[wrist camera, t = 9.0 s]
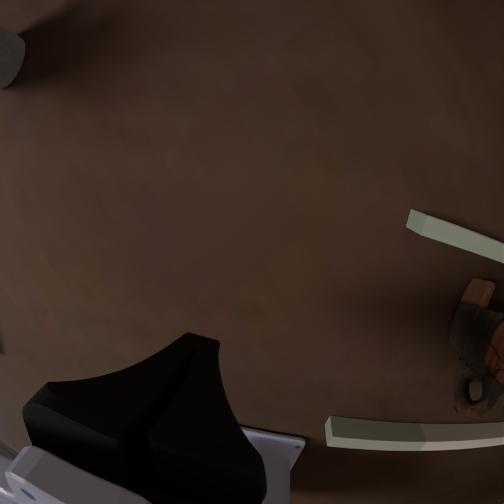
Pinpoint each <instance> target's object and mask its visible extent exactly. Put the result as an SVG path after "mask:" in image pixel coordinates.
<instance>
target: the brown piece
mask: <svg viewBox="0 0 504 504" xmlns="http://www.w3.org/2000/svg"><path fill="white" fill-rule="evenodd" d="M495 289H496V286H495V283H493V282H492V281H486V280H483V279H479V278H473V279H472V280H471V282H470V283H469V284H468V286H467V288H466V290H465V292H464V294H463V296H462V298H461V301H460V303H459V305H458V308H457V310H456V312H455V314H454V316H453V321H452V323H451V327H450V343H451V344H452V345H453V346H454V348H455V349H456V351H457V353H458V354H459V355H460V357H461V358H460V359H458V370H457V373H456V376H455V378H454V382H453V386H452V403H453V406H454V408H455V409H456V411H457V414H464V415H465V417H467V418H477V417H481V416H483V415H485V414H486V413H487V412H488V411H489V410H490V409H491V408H492V407H493V406H494V404H495V403H496V401H497V400H498V398H499V397H500V396H501V395H502V394H503V393H504V313H502V312H496V311H492V310H488V309H487V307H488V304H489V300H490V299H491V296H492V294H493V292H494V290H495ZM486 367H487V368H491V369H496V372H495V376H492V375H491V374H490V372H489V370H488V369H487V368H486ZM474 380H477V381H481V382H482V390H483V393H482V397H481V398H480V399H479V400H478V401H472V400H471V397H470V394H469V384H470V383H471V382H472V381H474Z"/></svg>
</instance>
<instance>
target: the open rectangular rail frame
mask: <svg viewBox="0 0 504 504" xmlns="http://www.w3.org/2000/svg"><path fill="white" fill-rule="evenodd" d="M406 227H407V228H409V229H411V230H413V231H415V232H416V233H418V234H420V235H422V236H425V237H429V238H432V239H435V240H438V241H441V242H444V243H447V244H450V245H453V246H456V247H459V248H462V249H465V250H468V251H471V252H474V253H476V254H479V255H482V256H485V257H488V258H491V259H493V260H496V261H499V262H502V263H504V243H502V242H500V241H497V240H495V239H492V238H490V237H487V236H485V235H482V234H480V233H477V232H474V231H472V230H469V229H466V228H464V227H461V226H458V225H456V224H453V223H450V222H448V221H445V220H442V219H439V218H436V217H433V216H431V215H428V214H425V213H422V212H419V211H416V210H413V209H411V211H410V215H409V218H408V222H407V225H406ZM325 431H326V441H327V446H332V447H342V448H354V449H368V450H391V451H431V450H454V449H467V448H478V447H488V446H496V445H503V444H504V422H498V423H479V424H420V423H399V422H385V421H373V420H363V419H354V418H345V417H337V416H329V418H328V420H327V422H326V424H325Z"/></svg>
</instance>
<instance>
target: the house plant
mask: <svg viewBox="0 0 504 504" xmlns="http://www.w3.org/2000/svg"><path fill="white" fill-rule="evenodd" d="M24 56H25V42H24V40H23V39H22V38H21V37H19V36H18V35H16V34H14V33H13V32H11V31H10V30H8V29H7V28H5V27H3V26H2V25H0V89H3V88H5V87H6V86H8V85H9V84H10V83H11V82H12V81H13V79H14V78H15V77H16V75H17V74H18V72H19V70H20V68H21V65H22V63H23V60H24Z"/></svg>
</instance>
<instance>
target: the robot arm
mask: <svg viewBox="0 0 504 504" xmlns="http://www.w3.org/2000/svg"><path fill="white" fill-rule="evenodd" d="M219 347H220V343H219V341H218V340H215V339H211V338H207V337H203V336H200V335H196V334H193V333H189V332H187V333H185V334H184V335H182V336H181V337H180V338H178V339H177V340H175V341H174V342H173V343H171V344H170V345H168V346H167V347H165V348H164V349H162V350H160V351H159V352H157V353H156V354H154V355H152V356H150V357H149V358H147V359H145V360H143V361H141V362H139V363H137V364H135V365H133V366H130V367H128V368H125V369H123V370H120V371H117V372H113V373H110V374H106V375H103V376H99V377H94V378H89V379H83V380H75V381H61V382H48V383H46V384H45V385H44V386H43V387H42V388H41V389H40V390H39V391H38V392H37V393H36V394H35V395H34V396H33V397H32V398H31V399H30V400H29V401H28V403H27V404H26V405H25V406H24V407H23V411H22V414H23V419H24V423H25V426H26V429H27V431H28V434H29V437H30V439H31V442H32V446H27V447H24V448H23V449H22V450H21V452H20V453H18V452H16V451H15V450H13V449H12V448H10V447H9V446H7V445H6V444H4V443H3V442H2V441H0V504H289V501H290V470H291V469H292V467H293V465H294V464H295V462H296V460H297V458H298V456H299V455H300V453H301V451H302V449H303V447H304V446H305V439H303V438H299V437H293V436H287V435H281V434H275V433H270V432H265V431H260V430H255V429H250V428H245V427H241V426H240V425H239V423H238V422H237V420H236V418H235V416H234V414H233V412H232V410H231V408H230V405H229V403H228V400H227V397H226V394H225V391H224V388H223V384H222V380H221V375H220V368H219V358H218V352H219Z"/></svg>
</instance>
